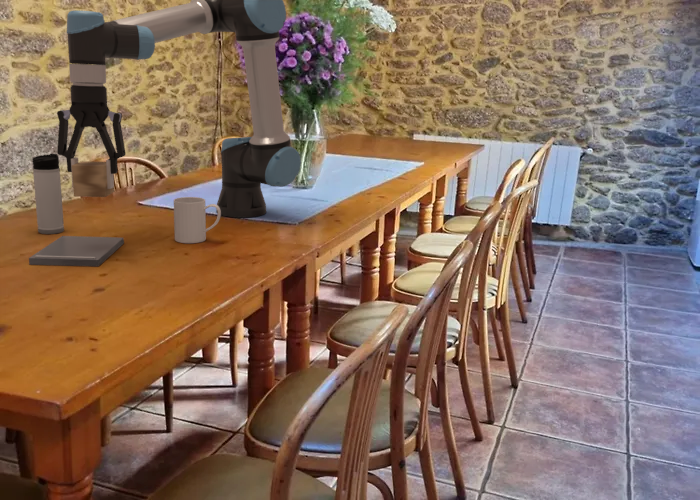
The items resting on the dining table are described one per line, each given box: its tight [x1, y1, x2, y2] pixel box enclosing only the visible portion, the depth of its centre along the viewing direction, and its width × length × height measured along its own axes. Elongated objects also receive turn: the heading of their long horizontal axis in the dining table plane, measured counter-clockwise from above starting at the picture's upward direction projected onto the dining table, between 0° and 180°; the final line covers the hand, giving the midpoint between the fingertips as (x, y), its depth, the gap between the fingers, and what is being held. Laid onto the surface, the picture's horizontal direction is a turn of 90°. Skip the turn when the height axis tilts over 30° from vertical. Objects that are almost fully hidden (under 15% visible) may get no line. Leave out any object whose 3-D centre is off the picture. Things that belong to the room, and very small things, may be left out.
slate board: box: [28, 235, 125, 267], centre depth 160 cm, size 15×20×2 cm
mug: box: [173, 196, 222, 244], centre depth 175 cm, size 12×8×10 cm, turn 79°
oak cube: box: [71, 160, 115, 198], centre depth 157 cm, size 7×7×7 cm
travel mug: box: [32, 153, 65, 235], centre depth 177 cm, size 6×7×20 cm
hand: (93, 187), depth 157 cm, fingers closed on oak cube, 7 cm apart
